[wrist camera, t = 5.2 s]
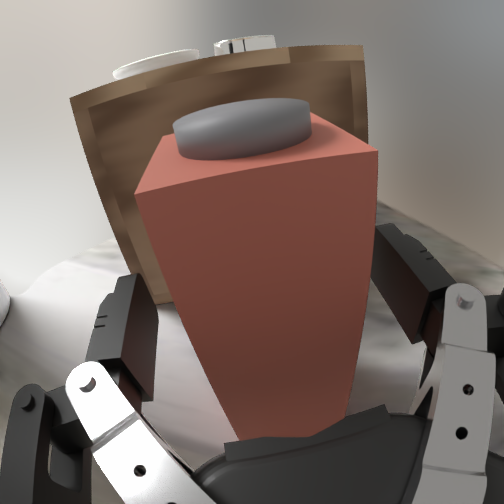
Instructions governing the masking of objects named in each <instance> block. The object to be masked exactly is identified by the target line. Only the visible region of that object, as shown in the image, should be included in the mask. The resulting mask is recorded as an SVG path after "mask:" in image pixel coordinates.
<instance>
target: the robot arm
mask: <svg viewBox="0 0 504 504" xmlns="http://www.w3.org/2000/svg"><path fill="white" fill-rule="evenodd" d="M370 277H371V279H372V281H373V282H374V284H375V285H376V287H377V288H378V290H379V292H380V293H381V295H382V296H383V298H384V299H385V301H386V303H387V304H388V306H389V307H390V309H391V311H392V312H393V314H394V315H395V317H396V319H397V320H398V322H399V324H400V325H401V327H402V329H403V330H404V332H405V334H406V335H407V337H408V339H409V340H410V342H411V344H415V343H418V342H421V341H424V342H425V344H426V347H425V350H424V354H423V360H422V365H421V370H420V375H419V379H418V384H417V388H416V392H415V396H414V399H413V402H412V404H411V407H410V409H409V412H408V414H406V413H388V411H387V409H386V407H385V404H383V405H380V406H378V407H375V408H372V409H369V410H366V411H363V412H360V413H357V414H353V415H350V416H347V417H346V418H344V419H342V420H340V421H339V422H337V423H335V424H333V425H331V426H330V427H328V428H326V429H324V430H322V431H320V432H318V433H316V434H315V435H312V436H309V437H260V438H254V439H248V440H242V441H236V442H229V443H224V447H225V453H223V454H220V455H218V456H216V457H214V458H212V459H211V460H209V461H207V462H206V463H204V464H203V465H202V466H201V467H199V468H198V469H197V470H196V471H194V470H193V469H192V468H191V467H190V466H189V465H188V464H187V463H186V462H185V461H184V460H183V459H182V458H181V457H180V456H179V455H178V454H177V453H176V452H175V451H174V450H173V449H172V447H171V446H170V445H169V444H168V443H167V442H166V441H165V440H164V438H163V437H162V436H161V435H160V434H159V433H158V431H157V430H156V429H155V428H154V427H153V426H152V424H151V423H150V422H149V421H148V419H147V418H146V417H145V416H144V415H143V413H142V412H141V405H142V402H148V401H153V393H154V375H155V360H156V347H157V335H158V324H159V319H158V312H157V308H156V305H155V303H154V301H153V299H152V297H151V294H150V292H149V290H148V288H147V285H146V283H145V281H144V279H143V277H142V275H141V274H140V273H136V274H131V275H126V276H121V277H119V278H118V280H117V283H116V287H115V290H114V293H110V294H108V295H107V296H106V298H105V299H104V300H103V302H102V303H101V305H100V307H99V310H98V314H97V319H96V321H95V324H94V329H93V332H92V335H91V339H90V343H89V347H88V351H87V355H86V359H85V363H84V364H81V365H79V366H78V367H76V368H75V369H74V370H73V371H72V372H71V374H70V375H69V377H68V379H67V381H66V385H65V386H62V387H59V388H57V389H54V390H51V391H49V392H45V391H44V390H43V389H42V388H41V387H40V386H39V385H37V384H29V385H26V386H24V387H23V388H21V389H20V390H19V391H18V393H17V394H16V395H15V397H14V400H13V403H12V407H11V412H10V416H9V421H8V426H7V431H6V436H5V442H4V448H3V455H2V462H1V469H0V504H92V503H91V462H92V454H93V456H94V457H95V459H96V461H97V462H98V464H99V465H100V467H101V469H102V470H103V472H104V473H105V475H106V476H107V478H108V479H109V481H110V482H111V484H112V485H113V487H114V488H115V489H116V491H117V492H118V494H119V495H120V496H121V498H122V499H123V501H124V502H125V503H126V504H504V457H501V456H499V455H497V454H495V453H493V452H491V451H489V450H488V447H489V441H490V434H491V426H492V417H493V407H494V394H495V388H496V390H497V392H498V394H499V396H500V398H501V400H502V402H503V404H504V288H503V290H502V293H501V295H489V296H483V294H482V293H481V292H480V291H479V290H478V289H477V288H475V287H473V286H471V285H469V284H465V283H456V282H455V280H454V279H453V278H452V277H451V276H450V275H449V274H448V272H447V271H446V270H445V269H444V268H443V267H442V266H441V264H440V263H439V262H438V261H437V260H436V259H434V258H433V256H432V255H431V253H430V252H429V251H428V252H427V249H426V248H425V247H424V246H423V245H422V244H421V243H420V242H419V241H418V240H416V239H415V238H413V237H411V236H409V235H407V234H405V235H403V233H402V232H401V231H400V230H399V229H398V228H397V227H396V226H395V225H394V224H392V223H389V224H384V225H379V226H375V233H374V245H373V255H372V265H371V274H370ZM9 306H10V296H9V294H8V292H7V290H6V289H5V287H4V285H3V284H2V282H1V280H0V326H1V324H2V323H3V321H4V319H5V317H6V315H7V312H8V310H9ZM50 444H51V445H52V453H51V464H50V476H49V473H48V455H49V445H50Z"/></svg>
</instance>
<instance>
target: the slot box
mask: <svg viewBox="0 0 504 504" xmlns="http://www.w3.org/2000/svg"><path fill="white" fill-rule="evenodd" d="M267 98H291V99H299V100H304V101H307V102H308V103H309V106H310V112H311V113H313V114H315V115H317V116H319V117H321V118H323V119H324V120H326V121H328V122H330V123H332V124H334V125H335V126H337V127H339V128H341V129H343V130H344V131H346V132H348V133H350V134H351V135H353V136H355V137H356V138H358V139H360V140H361V141H363V142H365V143H366V144H368V113H367V92H366V77H365V65H364V53H363V46H362V45H315V46H297V47H282V48H271V49H261V50H253V51H245V52H238V53H231V54H225V55H219V56H213V57H208V58H203V59H198V60H193V61H188V62H184V63H179V64H175V65H171V66H167V67H163V68H159V69H155V70H151V71H148V72H144V73H141V74H137V75H134V76H130V77H127V78H124V79H121V80H118V81H115V82H112V83H109V84H106V85H103V86H100V87H97V88H95V89H92V90H89V91H86V92H84V93H81V94H79V95H76V96H74V97H71V98H70V103H71V106H72V110H73V114H74V117H75V121H76V125H77V128H78V132H79V135H80V139H81V142H82V145H83V148H84V152H85V155H86V158H87V161H88V164H89V167H90V170H91V173H92V176H93V179H94V182H95V185H96V187H97V190H98V193H99V196H100V199H101V201H102V204H103V207H104V210H105V212H106V214H107V217H108V220H109V222H110V225H111V227H112V230H113V232H114V235H115V238H116V240H117V242H118V245H119V247H120V250H121V252H122V254H123V257H124V259H125V261H126V264H127V266H128V268H129V270H130V273H131V274H136V273H140V274H141V275H142V277H143V279H144V281H145V283H146V285H147V288H148V290H149V292H150V294H151V297H152V299H153V301H154V303H155V305H158V304H163V303H169V302H173V299H172V297H171V294H170V292H169V289H168V287H167V284H166V282H165V279H164V277H163V274H162V272H161V269H160V267H159V264H158V261H157V259H156V256H155V253H154V251H153V248H152V245H151V242H150V240H149V237H148V234H147V231H146V229H145V226H144V223H143V220H142V217H141V214H140V211H139V208H138V205H137V202H136V199H135V196H134V193H135V191H136V189H137V187H138V185H139V183H140V180H141V178H142V176H143V174H144V172H145V170H146V168H147V166H148V164H149V162H150V160H151V158H152V156H153V154H154V152H155V150H156V148H157V146H158V144H159V142H160V141H161V139H162V137H163V136H166V135H170V134H174V129H173V123H174V122H175V121H176V120H178V119H180V118H182V117H184V116H186V115H188V114H191V113H193V112H196V111H199V110H203V109H206V108H210V107H214V106H218V105H222V104H227V103H233V102H239V101H246V100H254V99H267Z"/></svg>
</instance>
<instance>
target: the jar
mask: <svg viewBox="0 0 504 504" xmlns="http://www.w3.org/2000/svg"><path fill="white" fill-rule="evenodd" d="M198 57H199V51H198V49H188V50H181V51H175V52H170V53H165V54H161V55H157V56H153V57H149V58H146V59H142V60H139V61H136V62H133V63H130V64H128V65H125V66H122V67H120V68H118V69H116V70H114V71H113V77H114V78H115V79H117V80H121V79H124V78H127V77H130V76H134V75H137V74H141V73H144V72H148V71H151V70H155V69H159V68H163V67H167V66H171V65H175V64H179V63H184V62H188V61H193V60H196V59H197V58H198Z"/></svg>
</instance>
